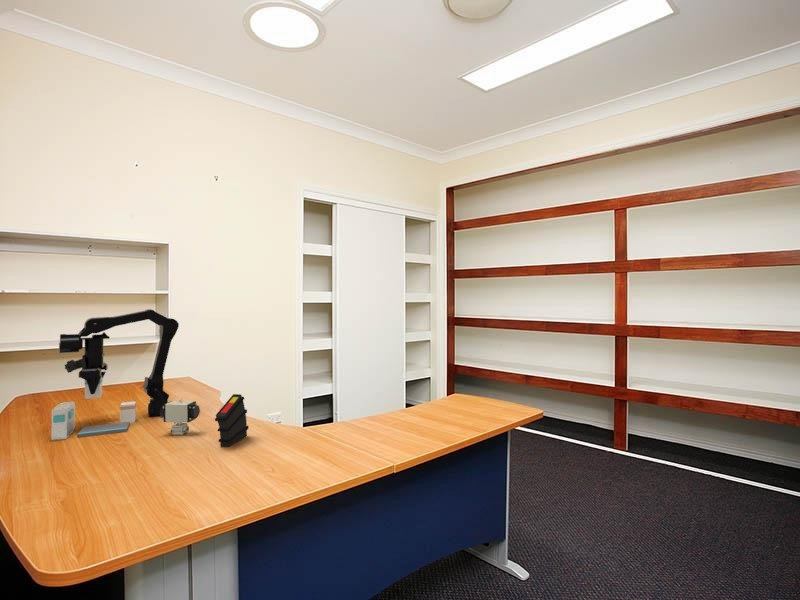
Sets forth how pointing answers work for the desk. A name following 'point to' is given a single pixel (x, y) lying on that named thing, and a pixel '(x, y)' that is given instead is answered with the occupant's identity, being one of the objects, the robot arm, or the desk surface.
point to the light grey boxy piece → (128, 412)
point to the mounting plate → (104, 429)
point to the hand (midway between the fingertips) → (93, 392)
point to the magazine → (232, 421)
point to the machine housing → (63, 420)
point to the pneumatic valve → (180, 415)
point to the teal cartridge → (97, 393)
